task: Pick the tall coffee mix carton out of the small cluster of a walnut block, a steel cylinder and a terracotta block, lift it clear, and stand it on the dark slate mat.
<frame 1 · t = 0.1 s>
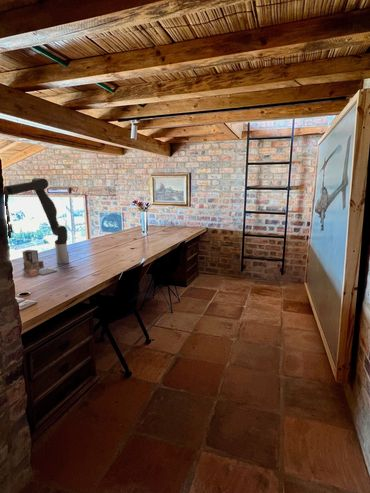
hand: (6, 237, 204), 29 cm above the table, tool pointing down, fingers open, 8 cm apart
walnut block: (38, 266, 234), on the table
steel cylinder: (26, 268, 230), on the table
slate mat: (45, 272, 219), on the table
terracotta block: (33, 275, 212), on the table
coffee box: (32, 270, 224), on the table
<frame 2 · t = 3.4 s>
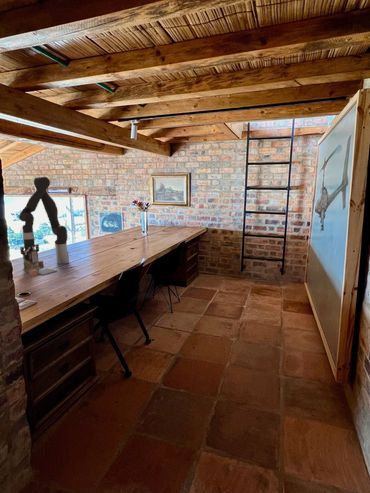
hand: (30, 258, 222), 10 cm above the table, tool pointing down, fingers closed on coffee box, 7 cm apart
coffee box: (32, 270, 224), on the table, touching gripper
everything else where it was.
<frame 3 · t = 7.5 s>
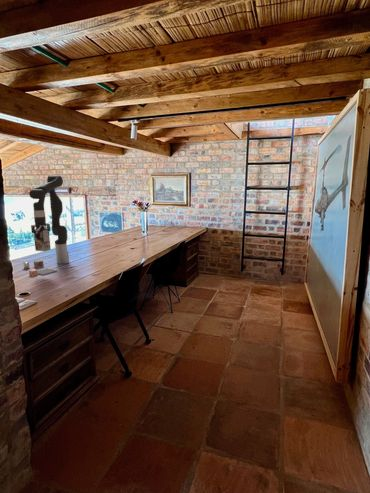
hand: (41, 237, 214), 28 cm above the table, tool pointing down, fingers closed on coffee box, 7 cm apart
coffee box: (43, 250, 216), point 17 cm above the table, touching gripper
everything else where it was.
when the fingers open (12 cm above the table, at t = 11.4 s): coffee box drops 1 cm, resting on slate mat.
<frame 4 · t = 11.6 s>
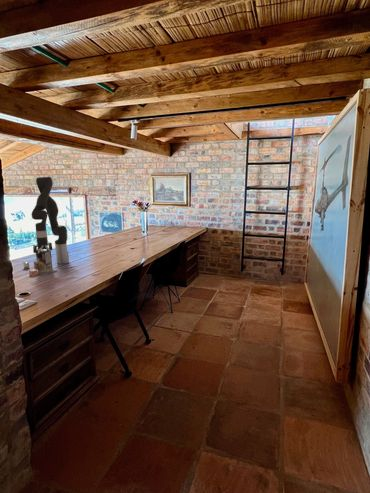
hand: (43, 257, 217), 12 cm above the table, tool pointing down, fingers open, 8 cm apart
coffee box: (45, 271, 219), point 1 cm above the table, touching slate mat
everything else where it was.
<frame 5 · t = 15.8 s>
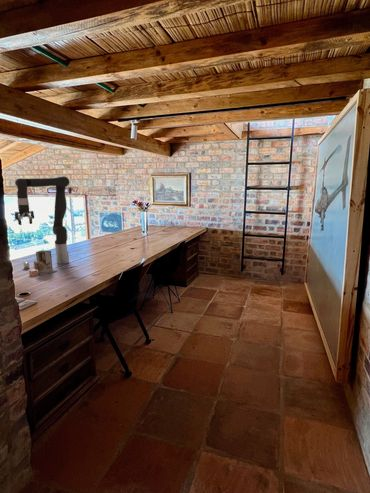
hand: (25, 224, 225), 36 cm above the table, tool pointing down, fingers open, 8 cm apart
nothing on the table moved.
at the end: coffee box inside the target area on the slate mat (0.2 cm from its centre), point 0.6 cm above the slate mat's base; coffee box tilted 0°; the gripper is holding nothing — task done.
